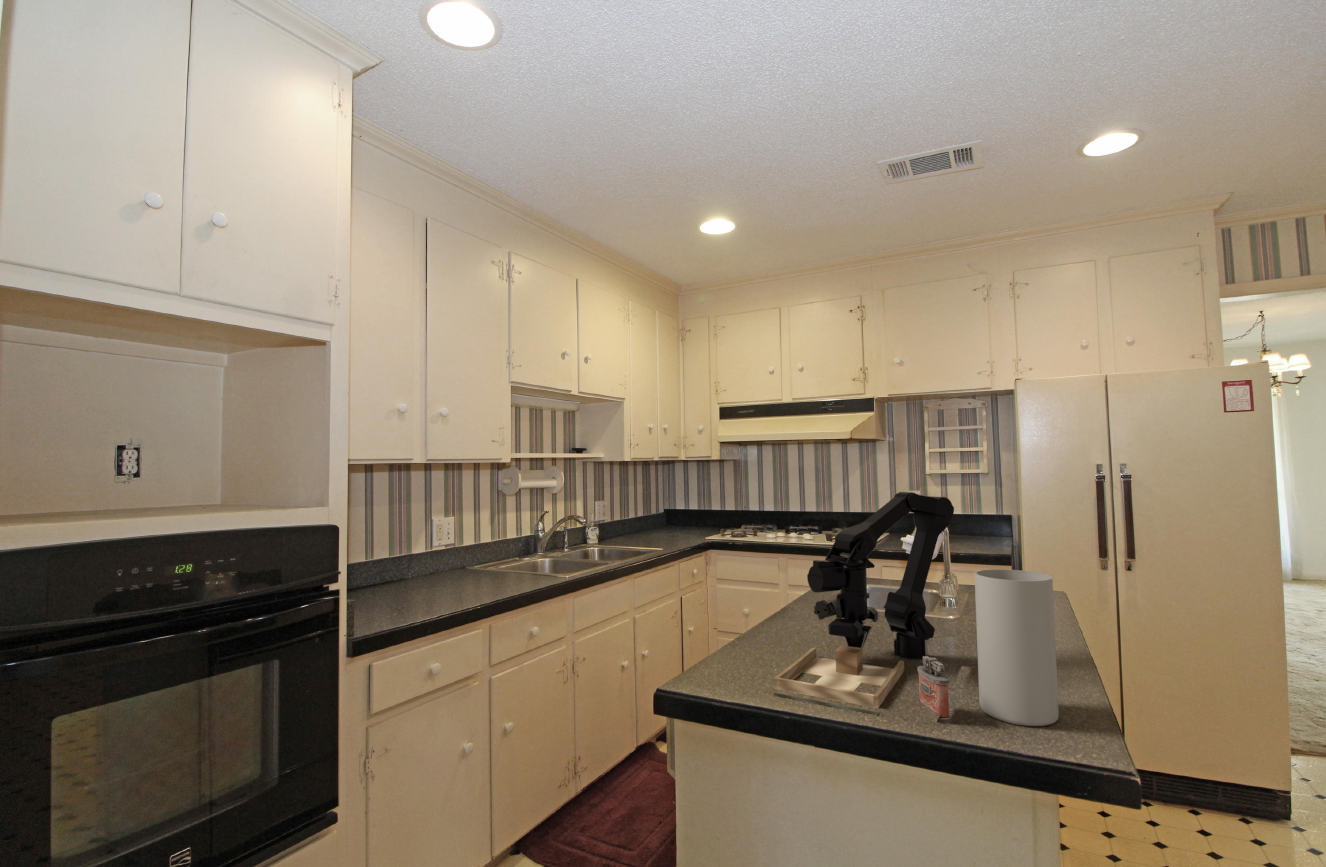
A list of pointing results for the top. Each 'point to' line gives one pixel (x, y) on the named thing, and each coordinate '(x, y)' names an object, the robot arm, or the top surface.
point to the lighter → (934, 688)
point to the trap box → (837, 682)
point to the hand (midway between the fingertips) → (855, 660)
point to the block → (849, 660)
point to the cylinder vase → (1016, 646)
